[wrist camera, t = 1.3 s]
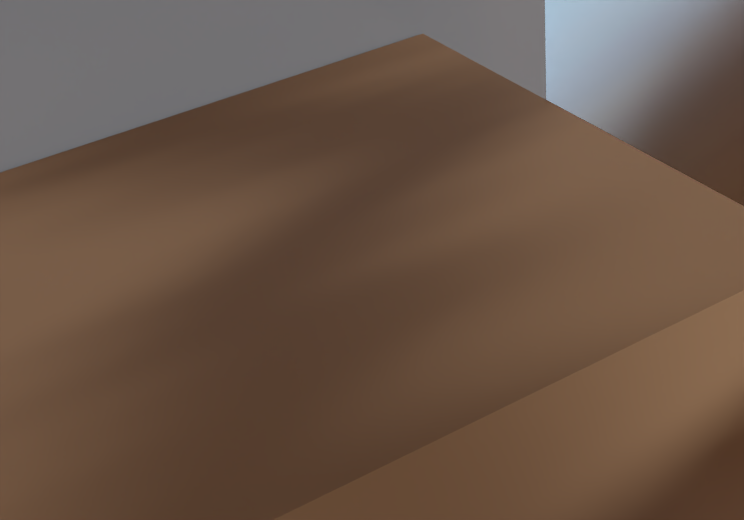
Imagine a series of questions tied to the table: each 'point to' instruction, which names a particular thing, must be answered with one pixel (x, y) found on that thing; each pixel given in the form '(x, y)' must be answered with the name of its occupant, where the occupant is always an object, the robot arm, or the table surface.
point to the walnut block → (370, 312)
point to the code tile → (215, 55)
